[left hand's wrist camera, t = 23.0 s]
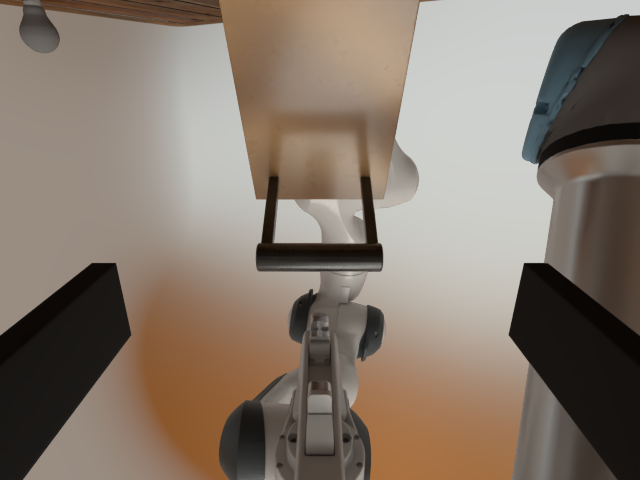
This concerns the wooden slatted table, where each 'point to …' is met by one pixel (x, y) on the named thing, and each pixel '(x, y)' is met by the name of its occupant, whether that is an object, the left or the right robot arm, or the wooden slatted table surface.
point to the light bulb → (38, 28)
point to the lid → (319, 111)
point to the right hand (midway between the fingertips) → (319, 347)
